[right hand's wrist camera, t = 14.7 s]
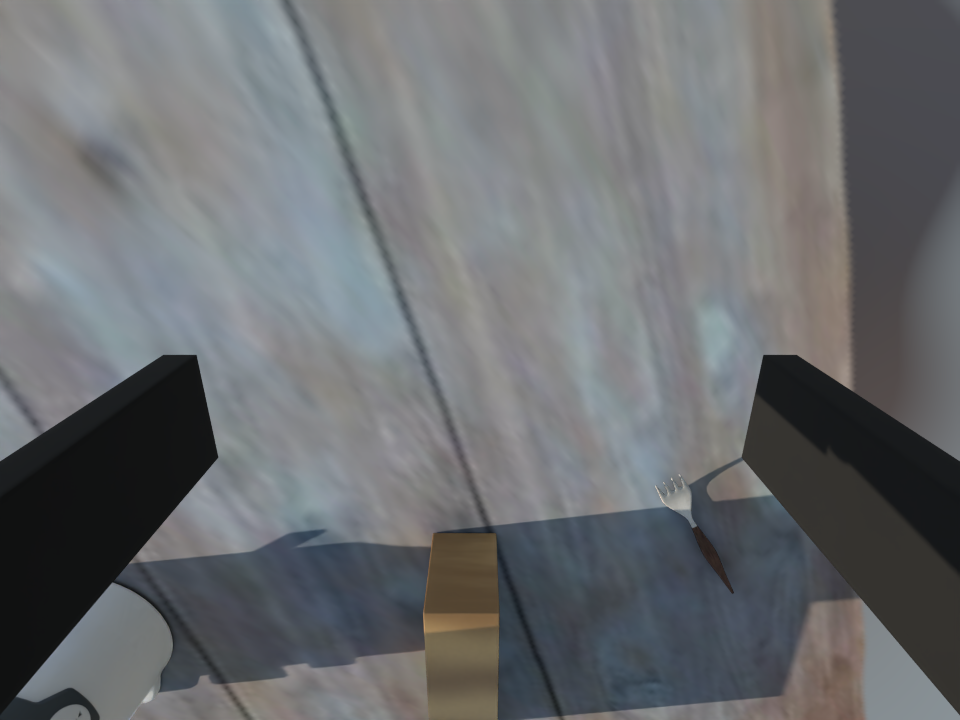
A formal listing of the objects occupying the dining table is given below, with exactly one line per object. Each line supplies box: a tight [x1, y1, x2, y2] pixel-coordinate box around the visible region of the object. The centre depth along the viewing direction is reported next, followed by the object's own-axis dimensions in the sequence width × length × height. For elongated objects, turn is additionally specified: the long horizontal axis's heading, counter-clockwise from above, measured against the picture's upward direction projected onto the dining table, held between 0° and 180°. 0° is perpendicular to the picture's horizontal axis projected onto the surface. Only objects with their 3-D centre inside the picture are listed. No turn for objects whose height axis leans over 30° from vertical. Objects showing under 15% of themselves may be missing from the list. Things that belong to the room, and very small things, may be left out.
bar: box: [423, 533, 500, 720], centre depth 49 cm, size 26×6×9 cm, turn 0°
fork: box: [655, 474, 734, 594], centre depth 47 cm, size 3×16×2 cm, turn 32°
